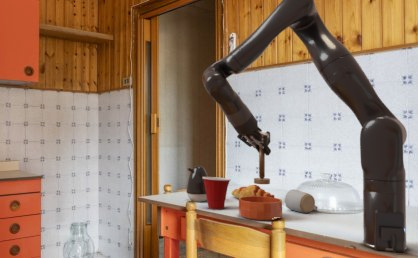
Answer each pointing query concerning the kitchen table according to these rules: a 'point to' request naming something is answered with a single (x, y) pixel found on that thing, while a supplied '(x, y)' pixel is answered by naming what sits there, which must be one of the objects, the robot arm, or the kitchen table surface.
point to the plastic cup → (216, 191)
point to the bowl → (260, 207)
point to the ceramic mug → (300, 201)
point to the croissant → (250, 192)
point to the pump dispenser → (196, 184)
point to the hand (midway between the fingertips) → (266, 153)
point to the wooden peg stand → (261, 169)
